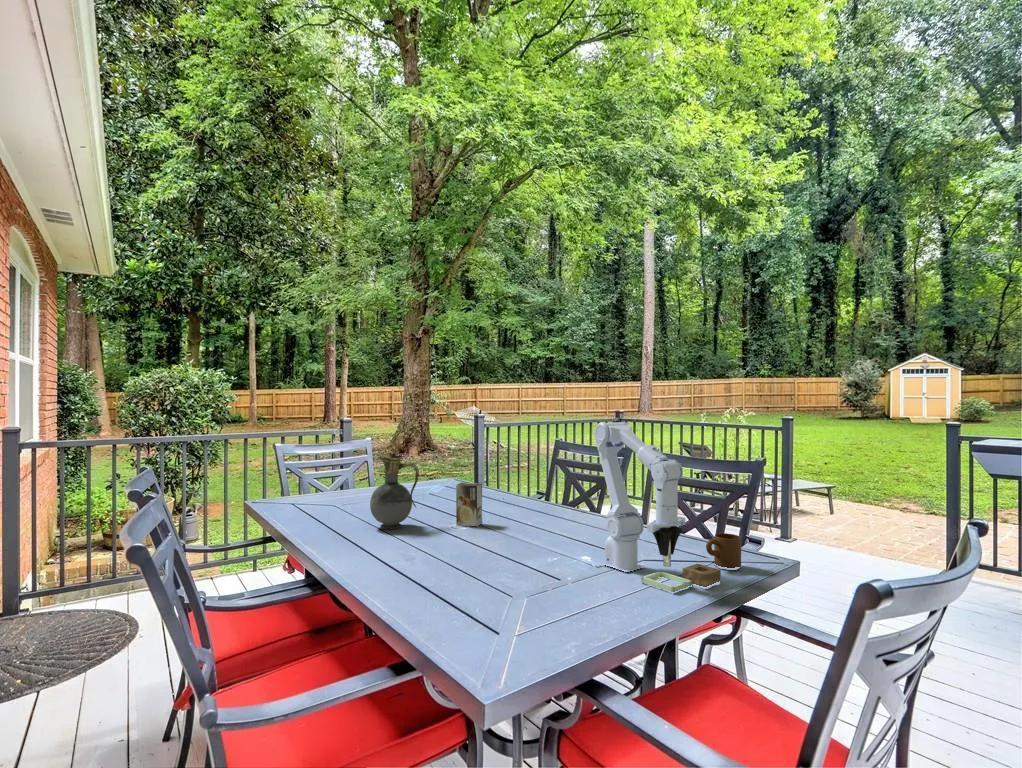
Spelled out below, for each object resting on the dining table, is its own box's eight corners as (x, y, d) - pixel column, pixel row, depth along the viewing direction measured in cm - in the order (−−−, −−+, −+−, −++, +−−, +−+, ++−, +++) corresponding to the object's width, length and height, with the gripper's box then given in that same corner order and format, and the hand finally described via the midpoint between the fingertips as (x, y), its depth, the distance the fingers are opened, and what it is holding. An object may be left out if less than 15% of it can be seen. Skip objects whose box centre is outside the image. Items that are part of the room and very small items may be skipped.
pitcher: (366, 526, 218) (367, 449, 218) (413, 521, 228) (414, 446, 228) (375, 533, 209) (375, 452, 209) (423, 527, 218) (424, 449, 219)
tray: (641, 583, 156) (641, 577, 156) (660, 577, 161) (660, 571, 161) (673, 594, 148) (673, 587, 148) (691, 587, 153) (691, 580, 153)
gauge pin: (661, 565, 155) (661, 536, 155) (666, 564, 156) (666, 535, 156) (668, 567, 153) (668, 537, 153) (672, 566, 155) (672, 536, 155)
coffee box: (483, 523, 224) (483, 483, 225) (477, 527, 218) (477, 485, 218) (461, 521, 227) (461, 482, 227) (455, 525, 221) (455, 484, 221)
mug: (716, 574, 164) (716, 542, 164) (697, 567, 171) (697, 535, 171) (746, 569, 169) (746, 537, 169) (727, 562, 176) (727, 532, 176)
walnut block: (682, 582, 157) (682, 568, 157) (697, 577, 161) (697, 563, 161) (705, 590, 151) (705, 575, 151) (720, 584, 156) (720, 569, 156)
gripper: (662, 510, 147) (662, 562, 147) (694, 503, 156) (694, 553, 156) (640, 506, 153) (640, 556, 153) (673, 499, 162) (673, 547, 162)
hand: (666, 554), depth 155 cm, fingers closed on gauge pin, 2 cm apart
